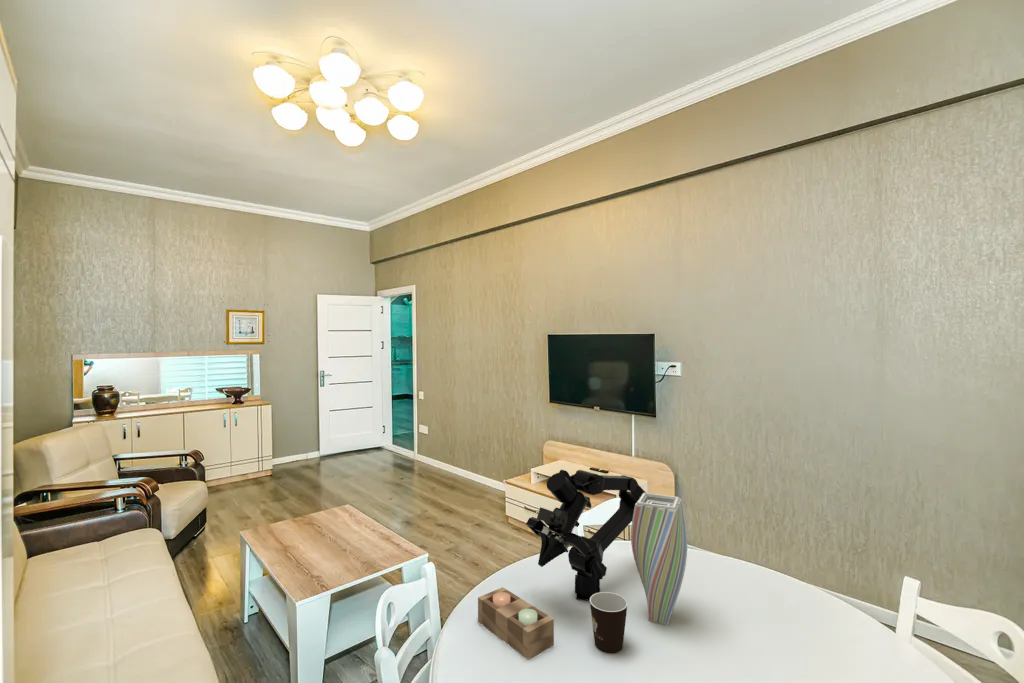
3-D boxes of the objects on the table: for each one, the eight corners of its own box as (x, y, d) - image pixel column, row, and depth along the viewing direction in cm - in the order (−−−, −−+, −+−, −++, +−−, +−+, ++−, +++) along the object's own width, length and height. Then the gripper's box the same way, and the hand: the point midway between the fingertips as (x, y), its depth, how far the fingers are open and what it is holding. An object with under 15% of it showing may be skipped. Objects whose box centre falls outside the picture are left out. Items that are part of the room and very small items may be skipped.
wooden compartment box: (502, 610, 124) (502, 587, 124) (553, 644, 109) (553, 618, 109) (478, 621, 119) (478, 597, 119) (528, 659, 104) (528, 632, 104)
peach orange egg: (503, 609, 121) (502, 590, 121) (514, 617, 117) (513, 597, 117) (489, 616, 118) (489, 596, 118) (500, 624, 115) (500, 603, 115)
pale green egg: (528, 627, 113) (528, 606, 113) (541, 636, 110) (541, 614, 110) (514, 634, 110) (514, 613, 110) (527, 643, 107) (527, 621, 107)
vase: (689, 610, 123) (688, 495, 124) (685, 639, 111) (684, 511, 111) (637, 598, 129) (636, 489, 129) (627, 625, 117) (626, 504, 117)
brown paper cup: (628, 659, 104) (628, 613, 104) (589, 654, 106) (588, 609, 106) (626, 628, 115) (626, 587, 115) (590, 624, 117) (590, 584, 117)
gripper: (530, 487, 130) (499, 537, 123) (581, 504, 116) (549, 562, 109) (551, 509, 135) (522, 559, 128) (602, 528, 121) (572, 585, 114)
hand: (539, 565), depth 120 cm, fingers closed
